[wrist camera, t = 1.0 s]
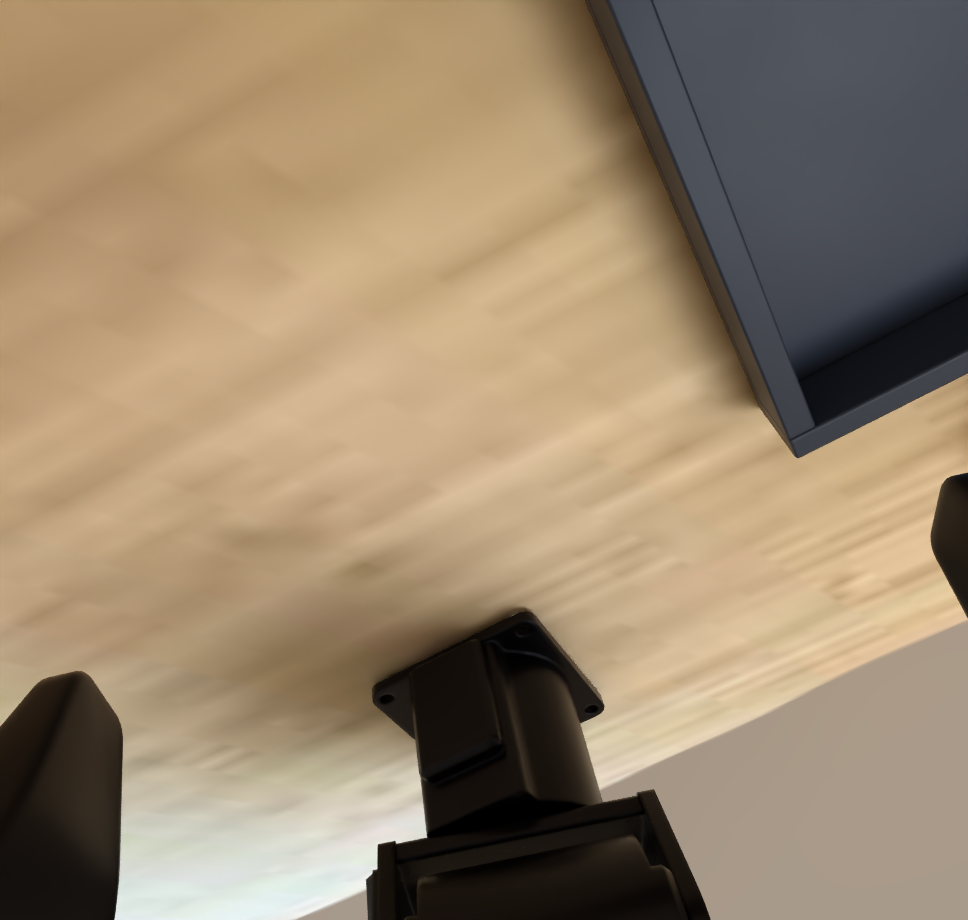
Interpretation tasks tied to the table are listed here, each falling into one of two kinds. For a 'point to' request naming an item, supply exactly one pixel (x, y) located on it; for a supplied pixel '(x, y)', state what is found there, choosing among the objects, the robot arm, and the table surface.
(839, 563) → the table surface
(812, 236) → the tray
